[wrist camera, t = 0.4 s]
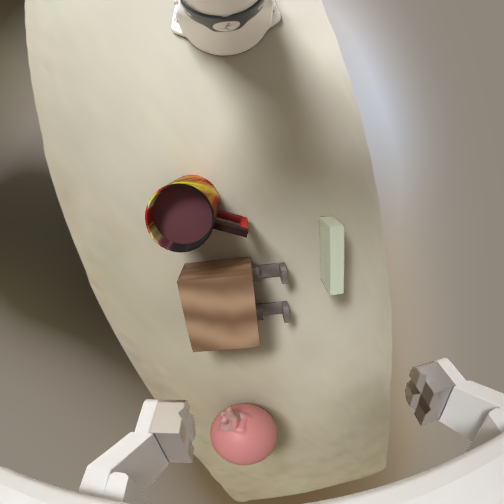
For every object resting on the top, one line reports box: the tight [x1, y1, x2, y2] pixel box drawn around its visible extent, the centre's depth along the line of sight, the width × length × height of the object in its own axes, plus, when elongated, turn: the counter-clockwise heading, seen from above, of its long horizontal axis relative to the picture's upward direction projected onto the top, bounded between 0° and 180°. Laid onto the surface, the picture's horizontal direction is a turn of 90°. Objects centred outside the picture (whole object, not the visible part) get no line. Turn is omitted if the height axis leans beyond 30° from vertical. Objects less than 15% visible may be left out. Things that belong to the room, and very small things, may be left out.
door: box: [319, 216, 344, 295], centre depth 53 cm, size 12×3×7 cm, turn 6°
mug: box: [145, 175, 248, 252], centre depth 47 cm, size 10×14×12 cm
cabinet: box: [177, 257, 290, 352], centre depth 54 cm, size 14×18×8 cm
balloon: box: [210, 404, 278, 465], centre depth 61 cm, size 15×20×15 cm
